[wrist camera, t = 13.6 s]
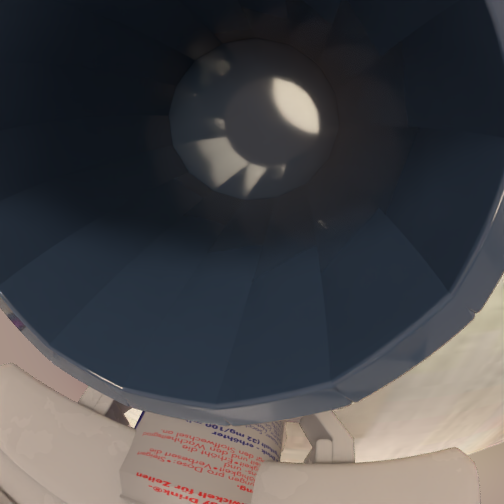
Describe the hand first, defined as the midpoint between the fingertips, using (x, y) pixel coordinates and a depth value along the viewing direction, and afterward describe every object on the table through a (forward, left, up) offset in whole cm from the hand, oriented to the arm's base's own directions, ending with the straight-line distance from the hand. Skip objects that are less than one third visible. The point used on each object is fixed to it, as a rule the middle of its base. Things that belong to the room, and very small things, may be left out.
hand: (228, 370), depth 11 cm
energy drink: (0, 0, -5) cm, 5 cm away
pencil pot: (+9, -5, -5) cm, 12 cm away
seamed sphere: (-9, +6, -5) cm, 12 cm away
